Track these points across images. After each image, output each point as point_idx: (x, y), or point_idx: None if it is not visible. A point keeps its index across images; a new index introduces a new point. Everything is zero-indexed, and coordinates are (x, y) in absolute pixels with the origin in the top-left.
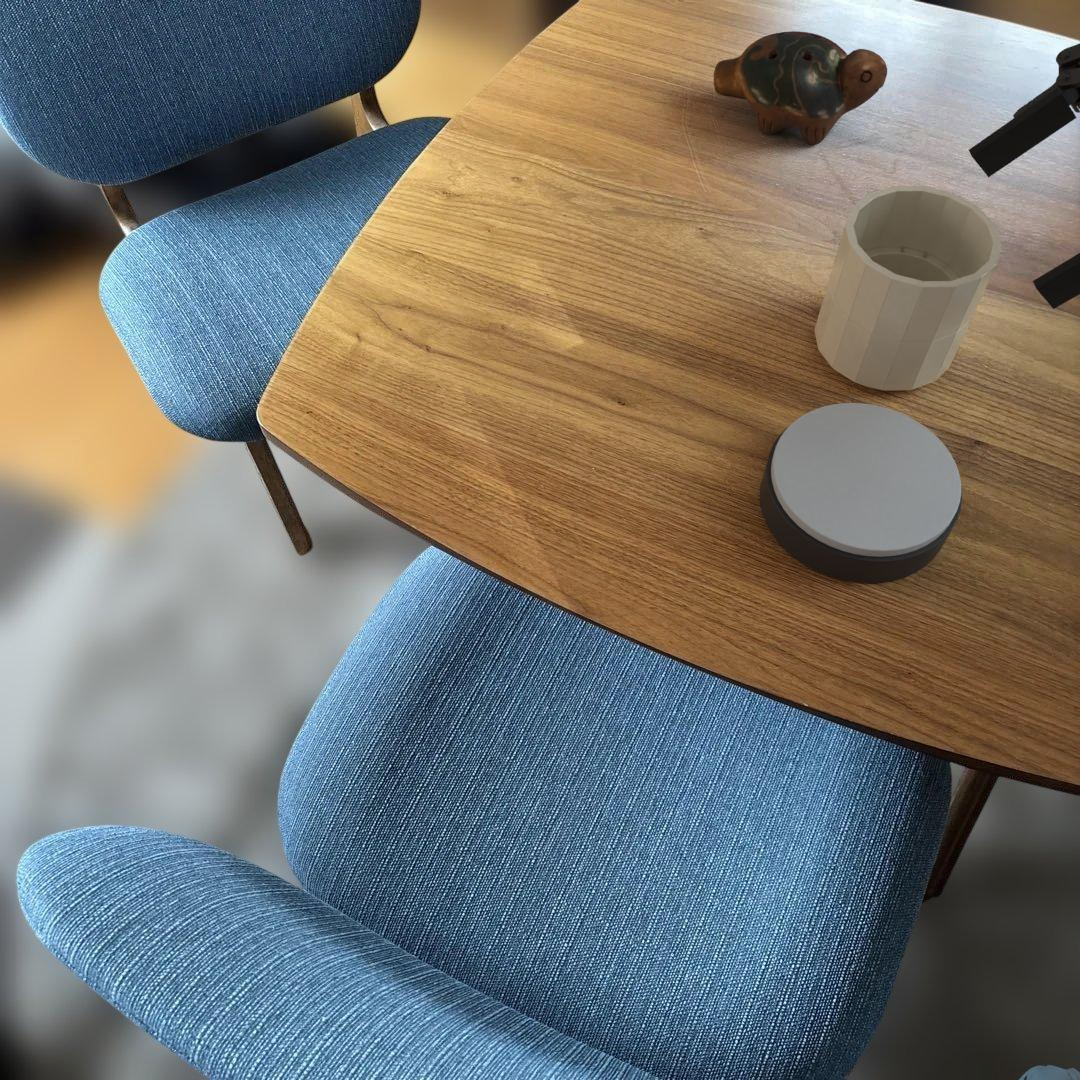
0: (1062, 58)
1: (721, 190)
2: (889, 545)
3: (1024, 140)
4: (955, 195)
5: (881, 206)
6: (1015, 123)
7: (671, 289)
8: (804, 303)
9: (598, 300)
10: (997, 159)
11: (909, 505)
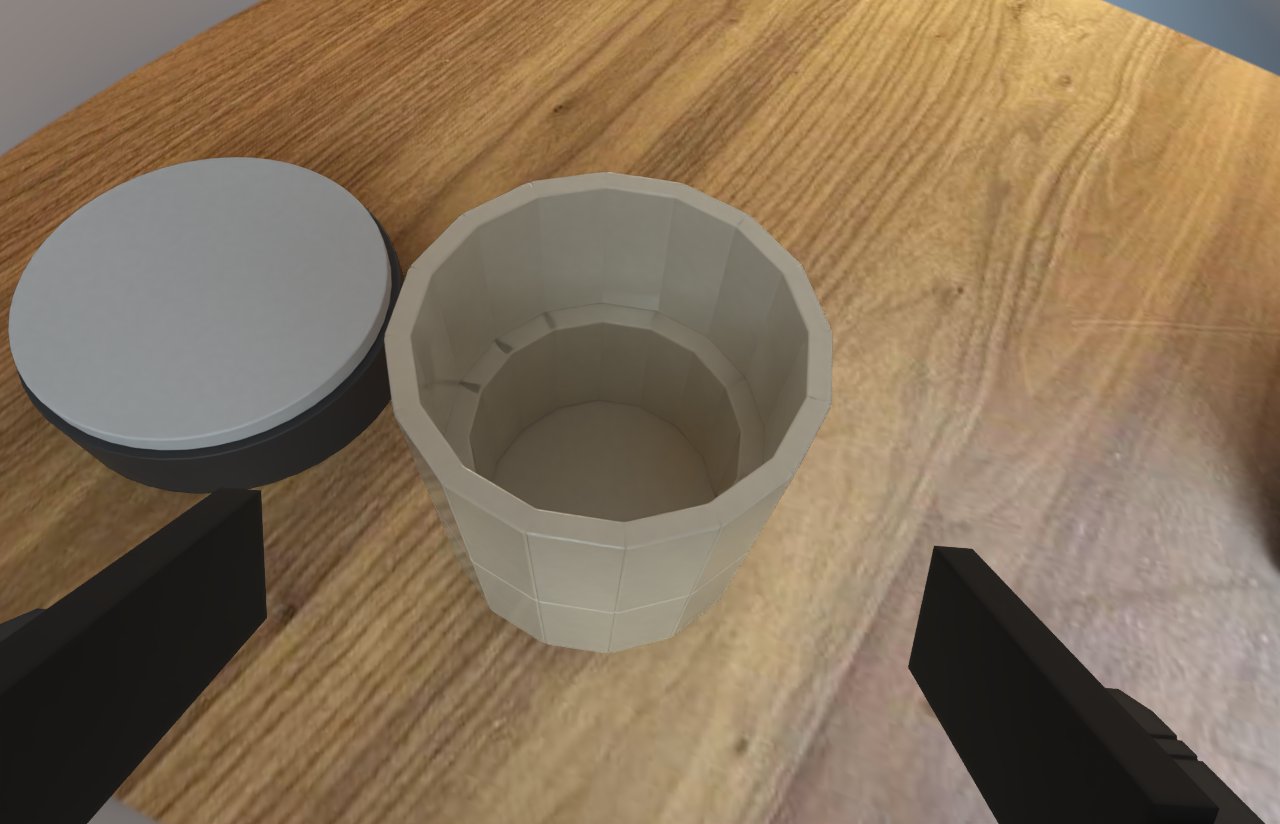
0: None
1: (1081, 349)
2: (35, 267)
3: (991, 731)
4: (777, 478)
5: (784, 323)
6: (1032, 645)
7: (799, 215)
8: None
9: (779, 123)
10: (938, 655)
11: (97, 324)
